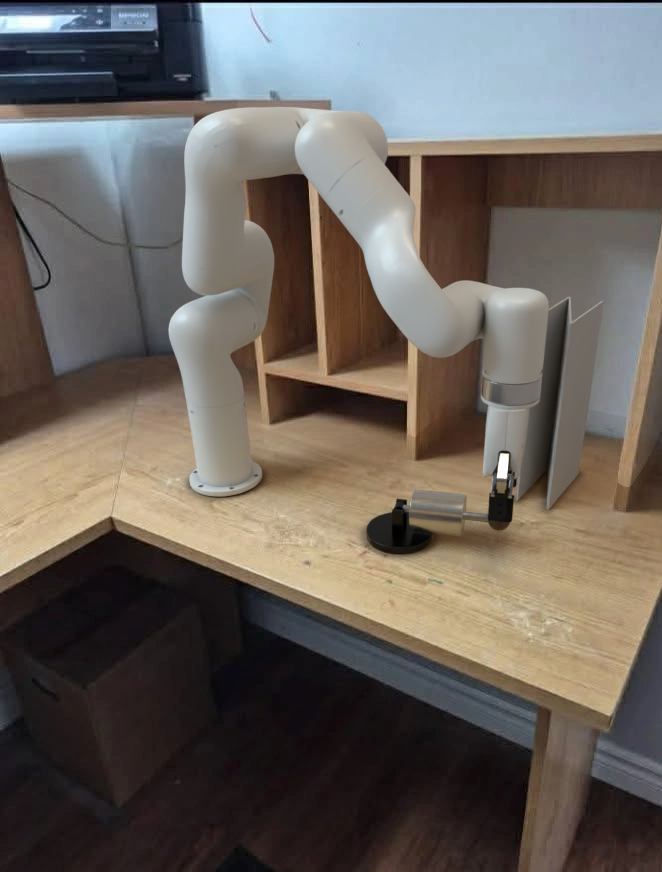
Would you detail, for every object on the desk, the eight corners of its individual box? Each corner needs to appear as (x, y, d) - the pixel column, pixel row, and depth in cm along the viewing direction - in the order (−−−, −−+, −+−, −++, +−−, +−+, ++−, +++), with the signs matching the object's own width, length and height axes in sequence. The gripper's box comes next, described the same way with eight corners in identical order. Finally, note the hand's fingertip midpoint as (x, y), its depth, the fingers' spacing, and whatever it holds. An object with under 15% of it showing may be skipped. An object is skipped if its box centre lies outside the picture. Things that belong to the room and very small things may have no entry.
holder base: (437, 521, 107) (438, 491, 105) (426, 558, 99) (427, 526, 96) (375, 514, 110) (374, 485, 107) (359, 549, 101) (358, 518, 99)
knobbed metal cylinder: (510, 527, 102) (513, 492, 99) (507, 549, 97) (510, 513, 94) (398, 514, 106) (398, 480, 103) (390, 535, 101) (389, 500, 98)
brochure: (548, 465, 122) (568, 296, 108) (578, 473, 120) (604, 300, 105) (515, 500, 112) (533, 318, 98) (548, 509, 110) (571, 323, 95)
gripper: (487, 364, 97) (481, 471, 105) (474, 412, 82) (468, 532, 91) (542, 367, 95) (532, 476, 103) (538, 416, 81) (527, 538, 89)
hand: (502, 502), depth 97 cm, fingers open, 9 cm apart
